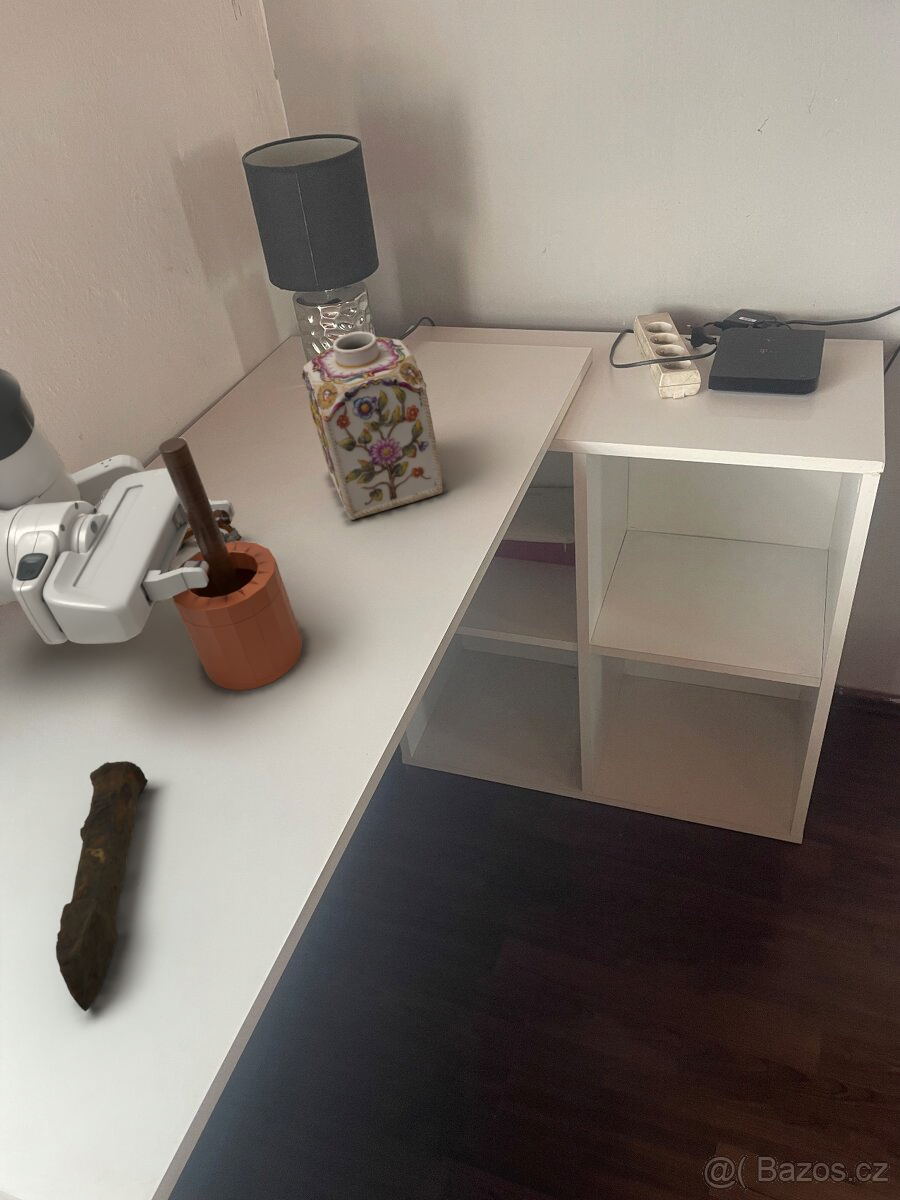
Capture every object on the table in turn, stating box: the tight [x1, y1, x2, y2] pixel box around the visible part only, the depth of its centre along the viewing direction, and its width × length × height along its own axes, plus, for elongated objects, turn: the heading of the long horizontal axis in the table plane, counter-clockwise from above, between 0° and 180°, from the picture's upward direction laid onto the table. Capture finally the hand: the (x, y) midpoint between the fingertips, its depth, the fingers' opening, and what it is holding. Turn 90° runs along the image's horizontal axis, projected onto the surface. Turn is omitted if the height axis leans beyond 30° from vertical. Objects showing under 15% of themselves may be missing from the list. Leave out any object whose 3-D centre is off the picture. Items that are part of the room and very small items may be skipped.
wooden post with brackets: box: [178, 524, 243, 550], centre depth 97 cm, size 2×8×4 cm, turn 84°
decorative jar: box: [301, 330, 443, 521], centre depth 97 cm, size 12×12×18 cm
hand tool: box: [55, 760, 149, 1012], centre depth 64 cm, size 19×4×5 cm, turn 6°
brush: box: [158, 437, 242, 597], centre depth 76 cm, size 3×3×22 cm
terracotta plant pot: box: [171, 540, 303, 691], centre depth 80 cm, size 9×9×10 cm
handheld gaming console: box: [70, 454, 147, 507], centre depth 96 cm, size 11×3×15 cm
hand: (220, 541), depth 75 cm, fingers open, 7 cm apart
